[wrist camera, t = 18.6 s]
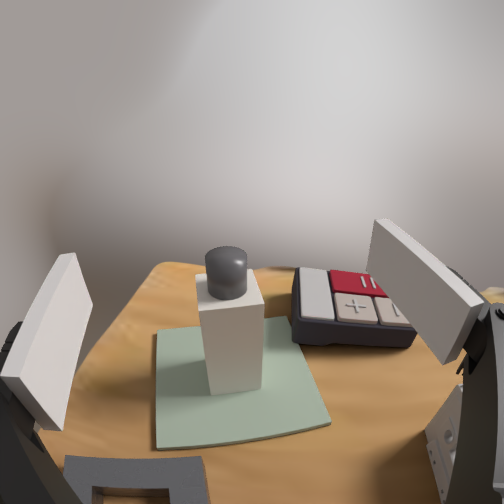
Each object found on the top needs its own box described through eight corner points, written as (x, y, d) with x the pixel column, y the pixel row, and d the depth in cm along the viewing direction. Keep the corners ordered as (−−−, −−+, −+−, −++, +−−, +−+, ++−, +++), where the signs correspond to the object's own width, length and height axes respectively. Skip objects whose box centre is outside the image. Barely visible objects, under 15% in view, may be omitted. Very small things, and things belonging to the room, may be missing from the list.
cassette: (419, 429, 24) (452, 383, 20) (434, 426, 24) (469, 379, 20) (445, 532, 14) (497, 505, 10) (462, 525, 14) (515, 496, 10)
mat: (285, 319, 40) (286, 315, 39) (330, 424, 26) (331, 421, 26) (158, 333, 37) (157, 329, 37) (158, 450, 23) (156, 447, 23)
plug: (251, 353, 34) (252, 238, 27) (261, 388, 29) (265, 270, 23) (205, 359, 33) (192, 244, 26) (210, 395, 29) (194, 277, 22)
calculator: (423, 325, 32) (298, 314, 33) (409, 351, 34) (291, 343, 35) (398, 274, 42) (296, 261, 42) (389, 298, 44) (291, 287, 44)
